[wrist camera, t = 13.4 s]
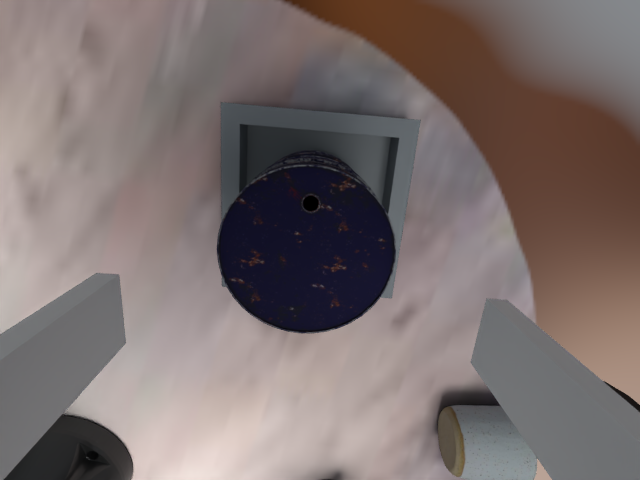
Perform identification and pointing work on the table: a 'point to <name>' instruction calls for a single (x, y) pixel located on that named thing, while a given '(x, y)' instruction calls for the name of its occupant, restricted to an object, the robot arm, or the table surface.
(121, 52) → the table surface
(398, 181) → the tray
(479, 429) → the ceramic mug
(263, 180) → the storage jar
